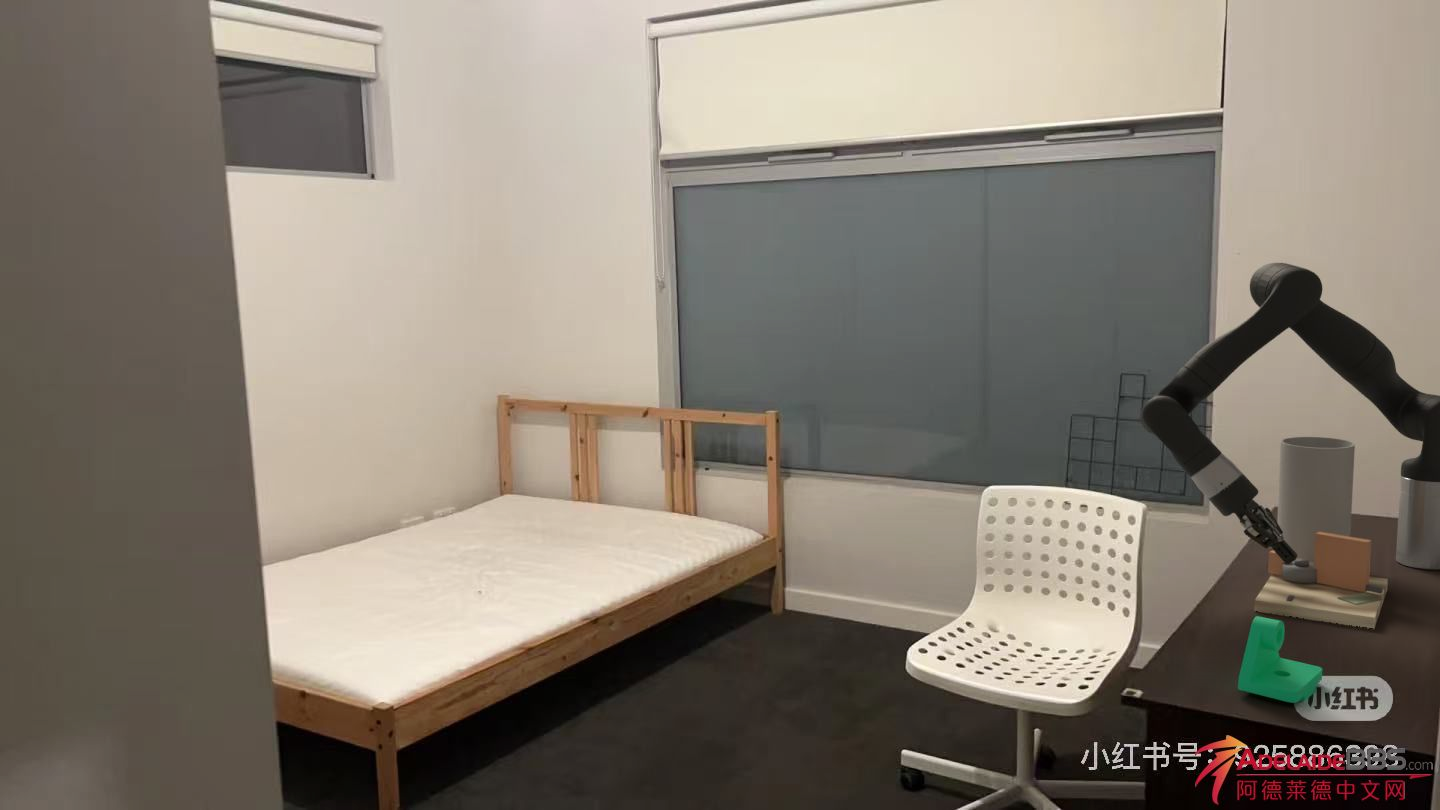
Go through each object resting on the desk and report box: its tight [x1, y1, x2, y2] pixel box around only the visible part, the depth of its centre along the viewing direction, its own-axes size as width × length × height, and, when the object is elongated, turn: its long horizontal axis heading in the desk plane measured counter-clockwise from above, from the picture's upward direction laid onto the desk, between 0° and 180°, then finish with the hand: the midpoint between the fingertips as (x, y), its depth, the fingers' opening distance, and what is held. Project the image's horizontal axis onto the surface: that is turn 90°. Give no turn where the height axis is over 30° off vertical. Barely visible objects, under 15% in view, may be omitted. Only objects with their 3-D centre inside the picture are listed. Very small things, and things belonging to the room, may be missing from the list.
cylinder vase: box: [1276, 436, 1356, 563], centre depth 210 cm, size 12×12×25 cm
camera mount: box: [1237, 615, 1323, 704], centre depth 156 cm, size 12×8×10 cm, turn 134°
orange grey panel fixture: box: [1267, 532, 1383, 593], centre depth 195 cm, size 19×6×9 cm, turn 39°
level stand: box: [1253, 573, 1389, 630], centre depth 193 cm, size 24×18×6 cm
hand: (1292, 560), depth 194 cm, fingers closed
